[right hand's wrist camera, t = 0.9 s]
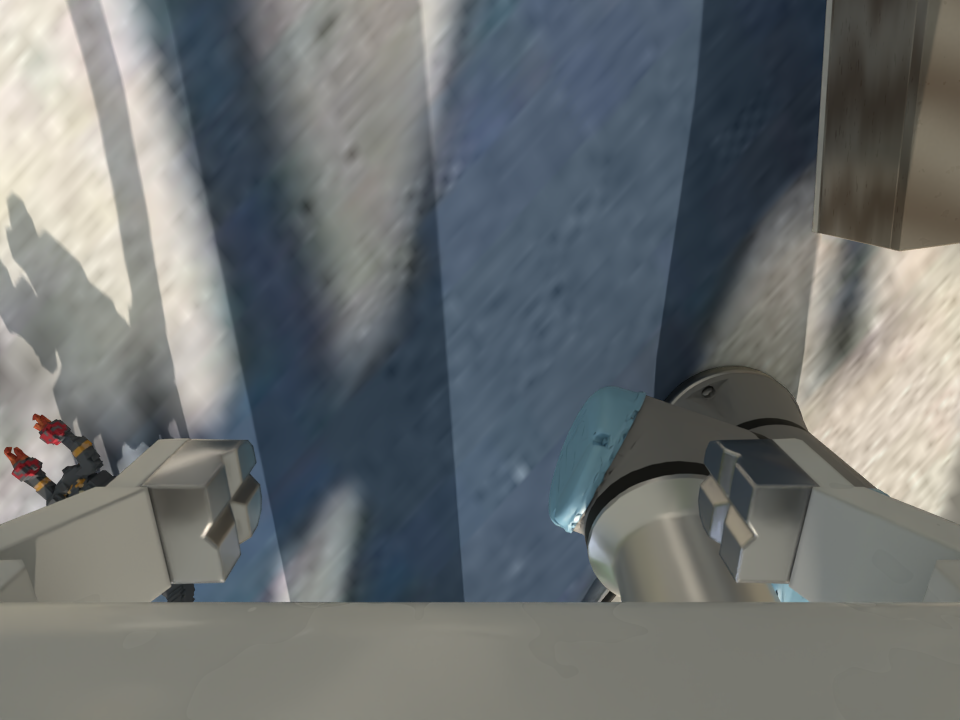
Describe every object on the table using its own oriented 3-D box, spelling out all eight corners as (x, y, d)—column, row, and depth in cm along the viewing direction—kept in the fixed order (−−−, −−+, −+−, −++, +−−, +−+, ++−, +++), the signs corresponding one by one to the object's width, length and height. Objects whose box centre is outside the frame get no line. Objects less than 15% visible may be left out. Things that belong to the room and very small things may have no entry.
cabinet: (828, -33, 46) (939, -93, 35) (956, -53, 46) (1110, -121, 35) (812, 231, 54) (899, 251, 42) (922, 216, 53) (1039, 232, 42)
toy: (190, 599, 69) (94, 748, 51) (4, 451, 62) (-181, 565, 44) (266, 543, 66) (190, 680, 49) (79, 380, 59) (-87, 473, 41)
